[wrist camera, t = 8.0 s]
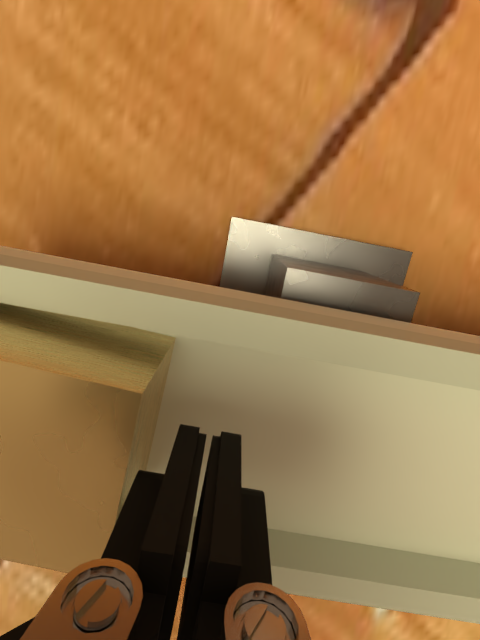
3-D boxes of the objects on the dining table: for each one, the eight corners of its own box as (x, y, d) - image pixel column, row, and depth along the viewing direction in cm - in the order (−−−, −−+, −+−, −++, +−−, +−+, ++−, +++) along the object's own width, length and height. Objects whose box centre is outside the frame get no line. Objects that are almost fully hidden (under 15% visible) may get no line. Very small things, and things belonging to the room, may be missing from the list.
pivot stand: (404, 250, 21) (499, 265, 13) (342, 462, 25) (389, 570, 17) (232, 217, 21) (226, 211, 13) (193, 436, 24) (170, 536, 16)
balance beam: (662, 355, 17) (1041, 473, 9) (583, 515, 20) (832, 725, 11) (-30, 224, 16) (-315, 221, 8) (-32, 409, 18) (-257, 559, 10)
